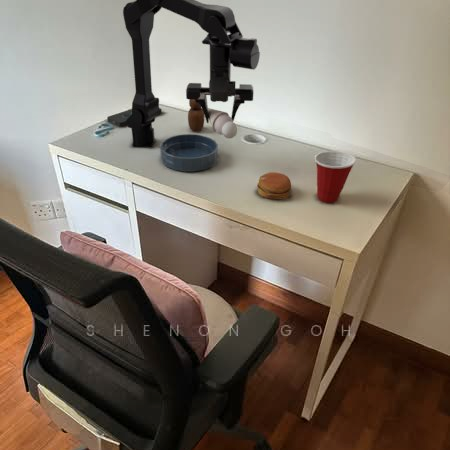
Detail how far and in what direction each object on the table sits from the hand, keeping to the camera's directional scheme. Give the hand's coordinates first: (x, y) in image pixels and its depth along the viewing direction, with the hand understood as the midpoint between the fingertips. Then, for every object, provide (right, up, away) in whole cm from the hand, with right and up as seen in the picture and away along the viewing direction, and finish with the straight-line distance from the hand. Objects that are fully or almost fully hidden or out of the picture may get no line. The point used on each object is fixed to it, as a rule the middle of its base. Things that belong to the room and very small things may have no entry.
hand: (219, 122), depth 124 cm
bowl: (-10, -8, +10) cm, 16 cm away
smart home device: (-32, +16, +34) cm, 50 cm away
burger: (+15, -22, -4) cm, 27 cm away
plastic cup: (+30, -24, -5) cm, 39 cm away
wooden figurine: (-9, +9, +27) cm, 30 cm away
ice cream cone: (-1, -2, +1) cm, 3 cm away
